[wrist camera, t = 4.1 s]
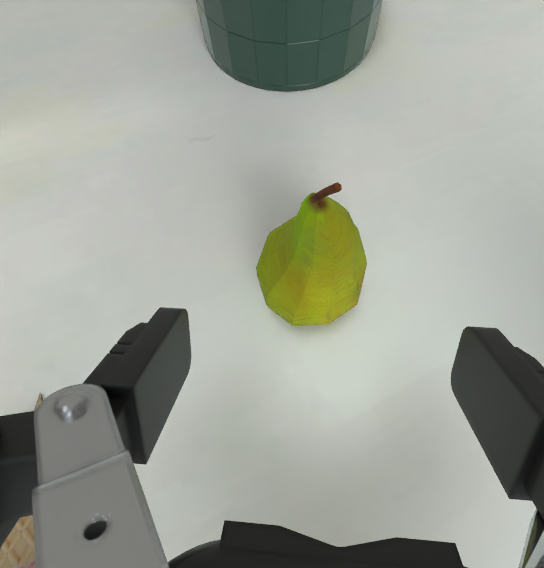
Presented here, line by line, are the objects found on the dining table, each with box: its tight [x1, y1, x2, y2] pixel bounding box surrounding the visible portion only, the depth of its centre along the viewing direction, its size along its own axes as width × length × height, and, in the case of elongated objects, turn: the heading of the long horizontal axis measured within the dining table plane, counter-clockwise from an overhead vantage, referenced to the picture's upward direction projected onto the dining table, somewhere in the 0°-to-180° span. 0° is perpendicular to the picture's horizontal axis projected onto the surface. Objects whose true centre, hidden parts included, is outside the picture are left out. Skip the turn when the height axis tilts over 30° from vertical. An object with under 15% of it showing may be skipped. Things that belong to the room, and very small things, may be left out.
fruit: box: [256, 183, 367, 326], centre depth 18 cm, size 6×6×12 cm
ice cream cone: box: [0, 394, 42, 568], centre depth 18 cm, size 5×5×15 cm
